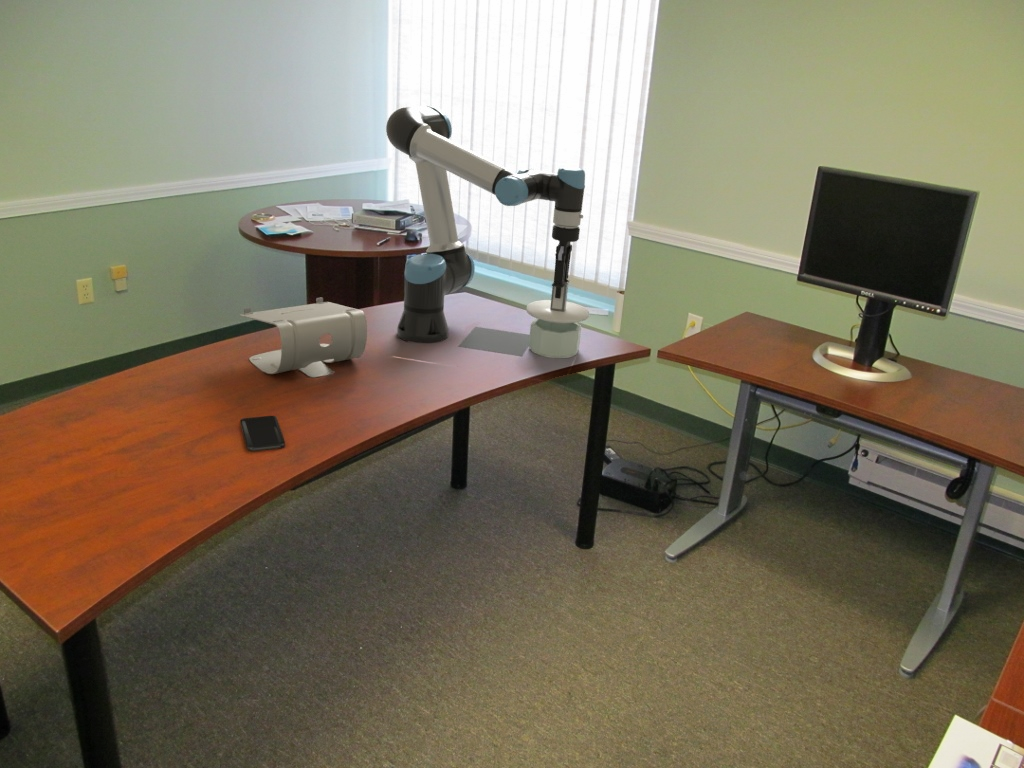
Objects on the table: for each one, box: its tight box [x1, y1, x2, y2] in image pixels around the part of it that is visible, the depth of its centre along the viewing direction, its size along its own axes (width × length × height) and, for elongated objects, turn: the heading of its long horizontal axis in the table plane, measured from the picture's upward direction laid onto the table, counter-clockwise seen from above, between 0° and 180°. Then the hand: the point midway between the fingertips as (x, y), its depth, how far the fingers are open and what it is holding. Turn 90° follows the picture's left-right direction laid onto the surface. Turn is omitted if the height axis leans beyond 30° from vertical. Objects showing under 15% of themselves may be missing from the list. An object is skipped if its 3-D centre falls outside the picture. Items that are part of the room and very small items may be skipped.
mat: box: [457, 326, 530, 357], centre depth 243 cm, size 19×19×1 cm
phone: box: [240, 415, 286, 453], centre depth 178 cm, size 8×1×15 cm
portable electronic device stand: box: [239, 297, 368, 379], centre depth 214 cm, size 26×24×16 cm
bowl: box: [528, 317, 582, 359], centre depth 239 cm, size 14×14×8 cm
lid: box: [526, 281, 590, 323], centre depth 234 cm, size 18×18×10 cm
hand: (558, 306), depth 235 cm, fingers closed on lid, 3 cm apart
